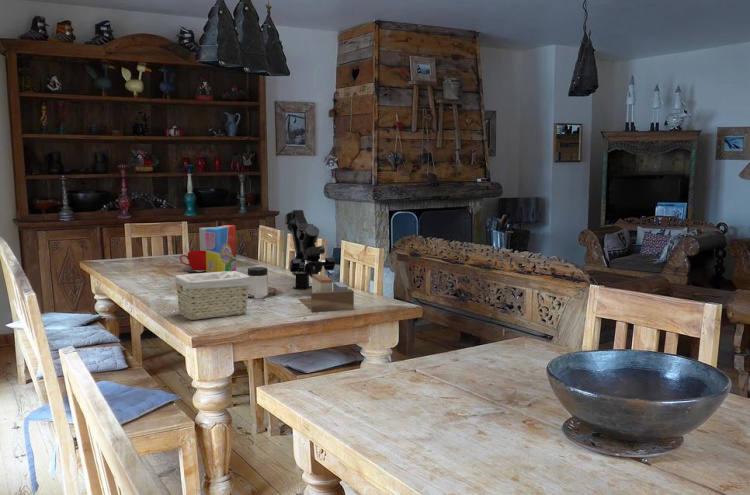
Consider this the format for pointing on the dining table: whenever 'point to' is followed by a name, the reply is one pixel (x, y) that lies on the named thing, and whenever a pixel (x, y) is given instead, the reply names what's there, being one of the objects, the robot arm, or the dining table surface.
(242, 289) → the storage basket
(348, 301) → the shelf
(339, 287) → the small books
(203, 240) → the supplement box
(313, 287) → the boxed book
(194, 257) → the ceramic cup
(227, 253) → the game box
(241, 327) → the dining table surface
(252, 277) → the jar
